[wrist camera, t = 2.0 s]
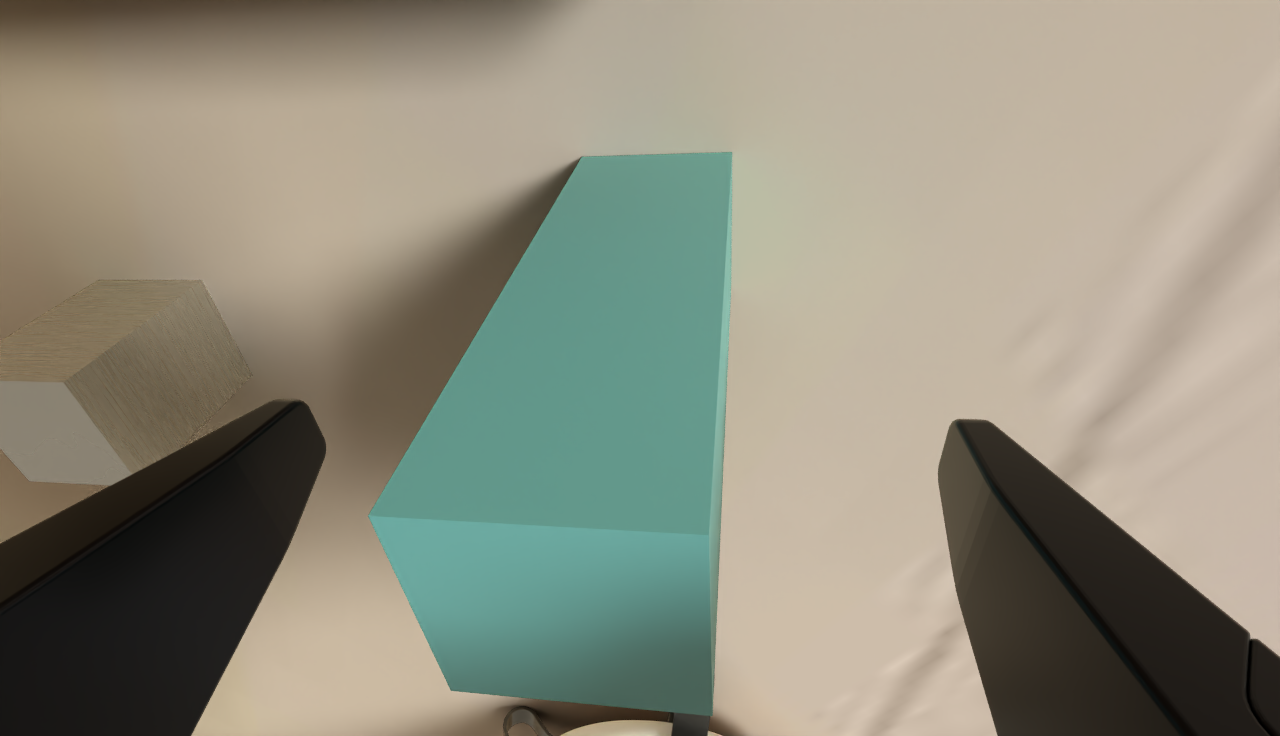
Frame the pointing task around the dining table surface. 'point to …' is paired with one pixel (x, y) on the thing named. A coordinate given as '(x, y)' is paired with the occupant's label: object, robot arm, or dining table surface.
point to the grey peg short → (114, 380)
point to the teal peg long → (583, 454)
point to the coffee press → (619, 725)
